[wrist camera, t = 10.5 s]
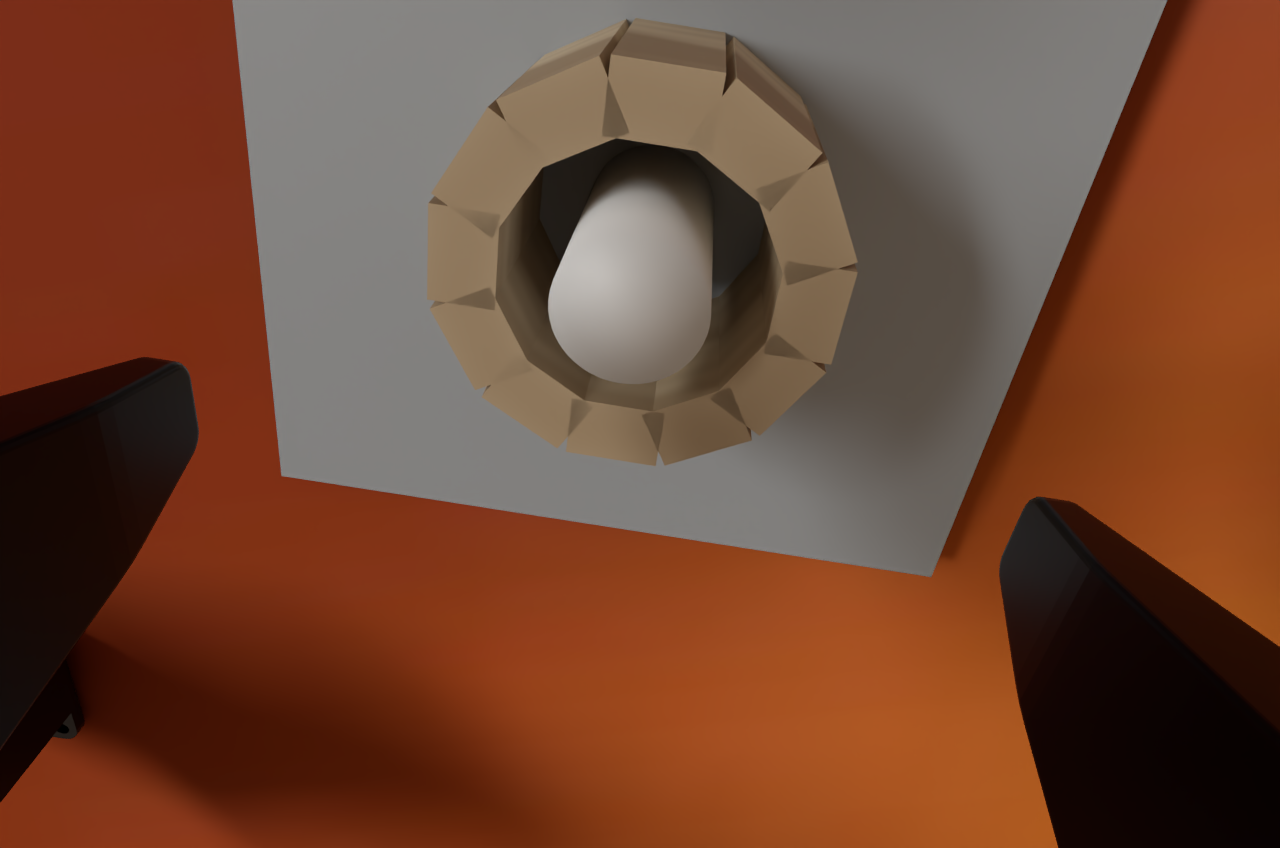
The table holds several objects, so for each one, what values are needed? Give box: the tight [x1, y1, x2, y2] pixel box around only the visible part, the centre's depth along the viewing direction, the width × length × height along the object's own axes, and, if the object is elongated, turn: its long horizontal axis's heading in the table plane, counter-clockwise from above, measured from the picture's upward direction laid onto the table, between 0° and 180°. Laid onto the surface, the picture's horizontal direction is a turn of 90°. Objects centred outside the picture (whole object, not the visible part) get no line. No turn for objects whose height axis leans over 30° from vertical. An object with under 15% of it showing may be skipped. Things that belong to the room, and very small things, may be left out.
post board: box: [233, 0, 1167, 577], centre depth 15 cm, size 16×16×6 cm
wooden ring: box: [427, 18, 858, 466], centre depth 15 cm, size 7×7×4 cm
